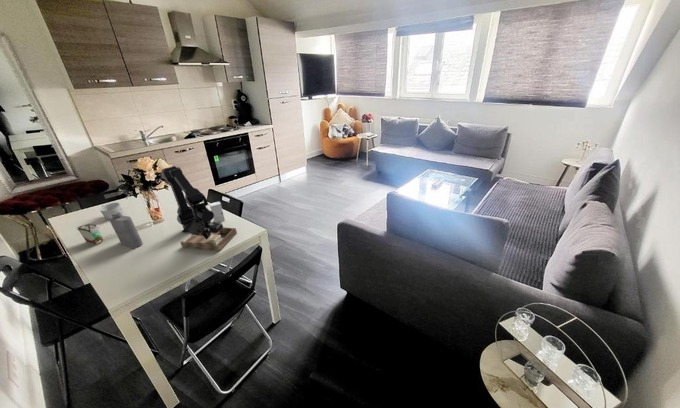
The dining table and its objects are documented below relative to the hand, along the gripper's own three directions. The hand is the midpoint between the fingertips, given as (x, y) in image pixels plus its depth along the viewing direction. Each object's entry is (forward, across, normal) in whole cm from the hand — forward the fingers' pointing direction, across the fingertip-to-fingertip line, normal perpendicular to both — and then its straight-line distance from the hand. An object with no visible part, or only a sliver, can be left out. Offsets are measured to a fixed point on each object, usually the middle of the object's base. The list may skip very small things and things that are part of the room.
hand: (208, 239), depth 144 cm
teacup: (+4, -86, +20) cm, 89 cm away
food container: (+4, -68, -6) cm, 69 cm away
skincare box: (+3, -10, +24) cm, 26 cm away
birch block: (+1, +4, 0) cm, 4 cm away
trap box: (+3, -2, +4) cm, 6 cm away
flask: (+4, -46, -6) cm, 46 cm away
